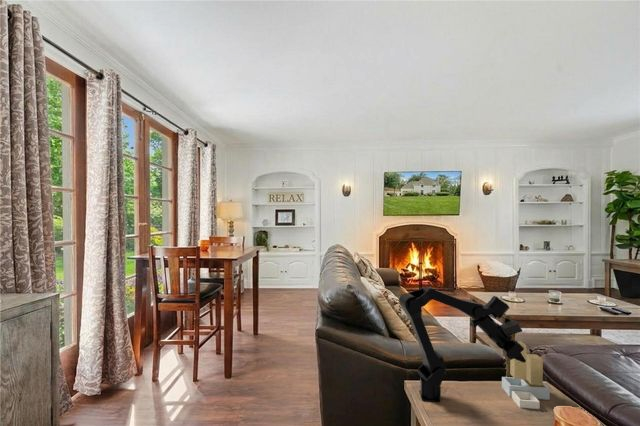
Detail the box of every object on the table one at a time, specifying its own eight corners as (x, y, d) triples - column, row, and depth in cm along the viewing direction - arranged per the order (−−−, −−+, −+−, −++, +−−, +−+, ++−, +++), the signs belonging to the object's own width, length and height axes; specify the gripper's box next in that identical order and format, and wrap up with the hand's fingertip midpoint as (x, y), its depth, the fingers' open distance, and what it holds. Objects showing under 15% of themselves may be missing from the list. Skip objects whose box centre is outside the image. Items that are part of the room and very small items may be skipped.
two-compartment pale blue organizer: (509, 396, 120) (509, 385, 120) (501, 387, 127) (501, 376, 127) (549, 399, 118) (549, 388, 118) (539, 389, 125) (539, 379, 125)
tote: (519, 407, 114) (519, 400, 114) (511, 397, 120) (511, 390, 120) (539, 409, 113) (539, 401, 113) (530, 398, 119) (530, 391, 119)
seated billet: (531, 392, 121) (530, 358, 121) (525, 386, 124) (525, 353, 125) (543, 393, 120) (543, 359, 120) (537, 387, 124) (537, 354, 124)
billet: (514, 378, 120) (514, 344, 120) (510, 373, 124) (510, 340, 124) (527, 379, 119) (526, 345, 119) (522, 374, 123) (522, 341, 123)
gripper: (517, 321, 113) (552, 355, 111) (497, 306, 131) (527, 335, 129) (493, 342, 114) (527, 376, 112) (476, 324, 133) (505, 354, 131)
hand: (522, 359), depth 121 cm, fingers closed on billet, 4 cm apart
